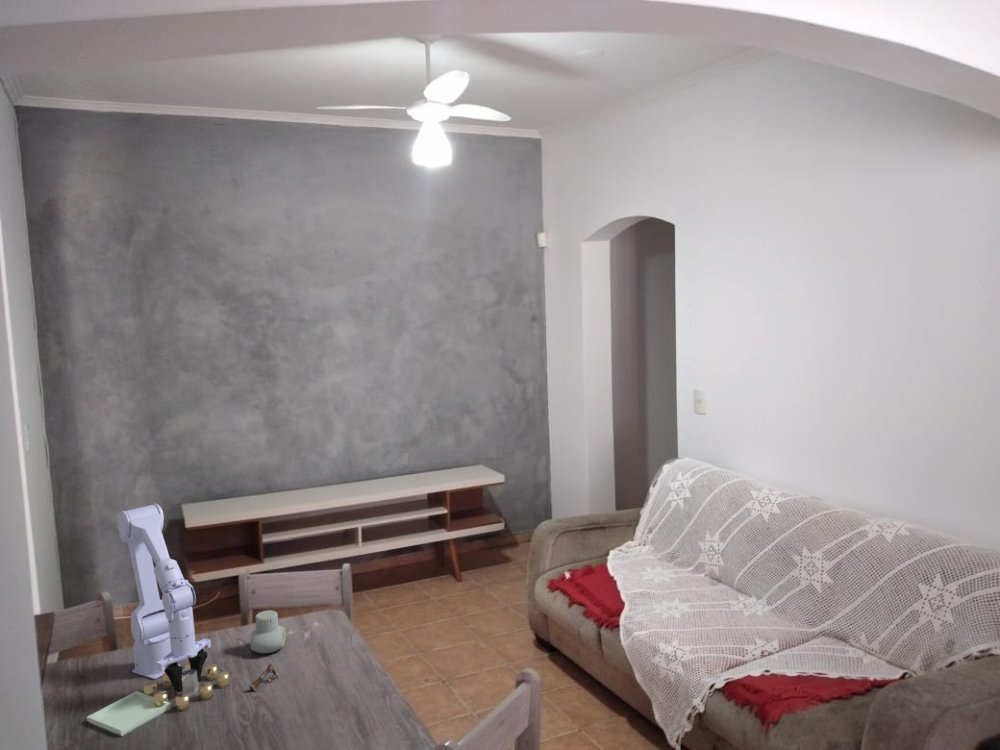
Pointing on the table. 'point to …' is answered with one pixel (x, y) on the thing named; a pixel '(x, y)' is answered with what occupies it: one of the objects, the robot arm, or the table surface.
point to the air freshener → (267, 633)
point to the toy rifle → (263, 675)
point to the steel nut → (189, 681)
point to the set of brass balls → (183, 699)
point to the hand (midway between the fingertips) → (187, 685)
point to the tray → (128, 713)
